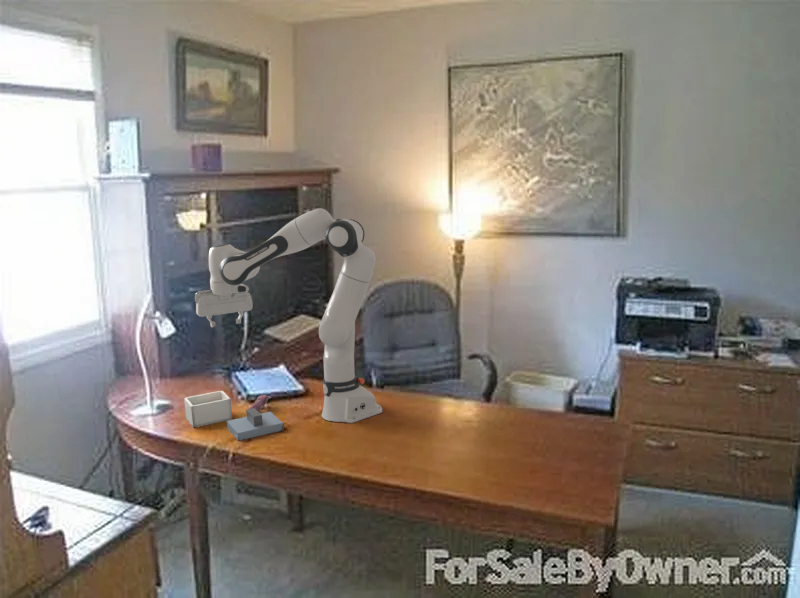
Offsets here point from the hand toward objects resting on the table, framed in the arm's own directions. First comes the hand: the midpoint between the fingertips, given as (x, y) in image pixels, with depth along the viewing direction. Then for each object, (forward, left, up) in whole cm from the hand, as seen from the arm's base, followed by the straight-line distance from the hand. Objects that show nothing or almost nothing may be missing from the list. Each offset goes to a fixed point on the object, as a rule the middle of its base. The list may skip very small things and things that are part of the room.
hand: (226, 325), depth 236 cm
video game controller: (-8, +6, -33) cm, 35 cm away
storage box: (+10, +4, -33) cm, 35 cm away
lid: (-1, +23, -33) cm, 40 cm away
